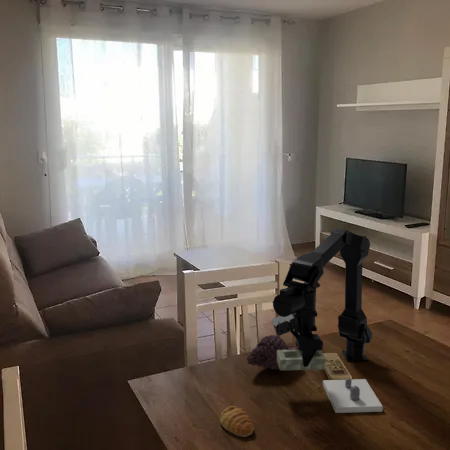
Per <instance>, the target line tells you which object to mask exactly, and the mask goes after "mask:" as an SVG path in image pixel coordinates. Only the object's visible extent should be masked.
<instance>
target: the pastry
mask: <svg viewBox="0 0 450 450" xmlns="http://www.w3.org/2000/svg"><path fill="white" fill-rule="evenodd" d="M251 418H252V417H251V416H250V415H249V414H248V413H247V412H246V411H245V410H244V408H241V407H240V408H238V406H236V405H229V406H228V407H226V408H225V409H224V410H223V411H222V412H221V414H220V416H219V421H220V424H221V426H222V427H223V429H225V430H226V431H227V432H229V433H230V434H233V435H235V436H237V437H241V438H246V437H248V436H251V435H252V434H253V432H254V430H255V426H254V422H253V420H252V419H251Z"/></svg>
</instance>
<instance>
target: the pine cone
mask: <svg viewBox="0 0 450 450" xmlns="http://www.w3.org/2000/svg"><path fill="white" fill-rule="evenodd" d="M277 350H298V348H297V346H294V345H288V344H286V342H285V340H284V339H283V338H281V336H278V335H275V334H269V335H265V336H264V337H262V338H261V339H260V341H259V342H258V343H257V344H256V346H255V348H253V349H252V350H251V351H250V353H249V354H247V358H246V361H247V364H248V365H251V366H257V367H261V368H266V367H267V368H268V369H270V370H280V369H279V365H278V362H277Z"/></svg>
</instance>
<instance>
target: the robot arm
mask: <svg viewBox="0 0 450 450" xmlns="http://www.w3.org/2000/svg"><path fill="white" fill-rule="evenodd" d="M370 247H371V242H370V239H369V238H368V237H367V235H362V234H361V235H360V234H356V233H353V232H352V231H350V230H348V229H341V228H334V229H332V231H330V234H329V235H328V236H327V237H326V238H325V239H324V240H323V241H322V242H320V244H319V245H318V246H316V248H315V249H313V250H312V251H310V252H309V253H305V254H301V255H299V256H297V257H296V258H295V259H294V260H293V261H292V263H291V264H290V266H289V269H288V272H287V274H286V276H285V277H284V278H285V279H284V280H283V284H282V285H283V287H284V288H281V289H280V290H279V294H277V295H275V296H274V299H273V301H272V307H273V310H274V312H275V313H276V314H277V315H278V316H276V317H274V318H272V319H271V322H272V325H273V329H274V331H275V333H276V336H279V337H281V336H283V335H285V334H288V333H290V334H291V335H292V336H294V338H295V343H294V344H295V347H297V348H298V350H300V351H301V354H302V360H303V366H304V367H308V365H309V363H310V362H311V360H312V358H313V356H314V355H315V353H316V352H317V351H319V350H321V351H323V350H324V341H323V339H322V338H321V337H320V336H319V335H318V333H313V332H317V331H318V327H317V325H316V317H318V312H317V310H316V309H317V307H316V305H317V289H318V288H320V287H321V284H320V283H319V281H320V279H321V278H322V276H324V272H325V266H326V265H327V264H328V263H329V262H330V261H331V260H332V259H333V258H334V257H335V256H336V255H337V254H338V253H339V255H340V257H341V259H342V260H343V262H344V264H345V266H344V267H345V269H344V270H345V271H344V273H345V274H344V275H345V276H344V277H345V278H344V279H345V280H344V282H345V284H344V293H345V294H344V309H343V310H342V312H341V314H339V315H338V317H337V320H338V321H337V322H338V323H337V329H338V333H339V334H338V335H339V337H340V338H344V339H345V350H341V353H342V355H343V357H344V358H345V360H346V362H358V361H359V362H364V361H365V362H366V361H367V362H368V361H369V360H368V359H369V358H368V357H367V355H366V354H365V344H370V343H371V340H372V338H373V331H372V330H371V329H370V327H369V326H368V321H367V320H368V317H367V316H366V314H365V312H364V310H363V309H362V305H363V304H362V299H363V298H362V296H363V293H362V292H363V264H364V262H365V260H366V259H367V257H368V256H369V251H370V249H371V248H370Z"/></svg>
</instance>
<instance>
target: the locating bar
mask: <svg viewBox="0 0 450 450" xmlns="http://www.w3.org/2000/svg"><path fill="white" fill-rule="evenodd" d="M277 362H278V365H279V369H278V370H279V371H308V370H309V371H311V370H312V371H314V370H316V371H317V370H326V358H325V355H324V352H323V350H319V351H317V352H316V353H315V355H314V356H313V358H312V360H311V362H310V363H309V365H308V367H304V366H303V360H302V354H301V351H300V350H277Z"/></svg>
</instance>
